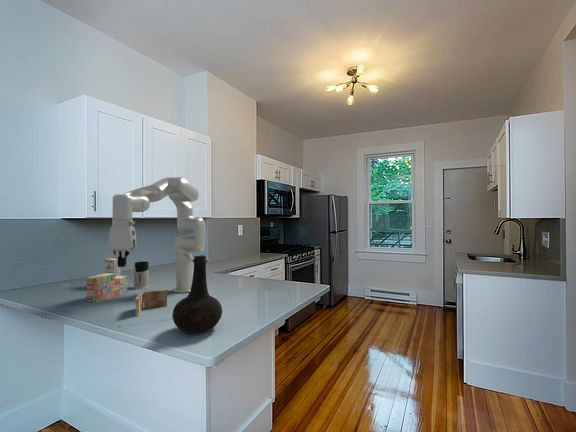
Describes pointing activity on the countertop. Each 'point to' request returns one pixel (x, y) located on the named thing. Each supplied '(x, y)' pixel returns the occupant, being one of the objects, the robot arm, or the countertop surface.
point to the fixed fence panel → (154, 299)
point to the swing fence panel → (138, 303)
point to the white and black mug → (140, 275)
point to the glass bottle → (197, 303)
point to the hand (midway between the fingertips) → (121, 266)
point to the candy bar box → (112, 266)
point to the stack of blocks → (105, 287)
